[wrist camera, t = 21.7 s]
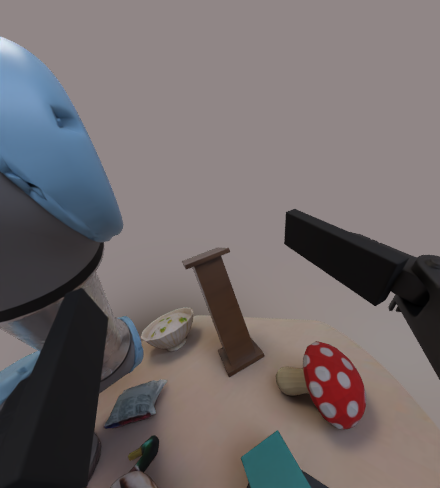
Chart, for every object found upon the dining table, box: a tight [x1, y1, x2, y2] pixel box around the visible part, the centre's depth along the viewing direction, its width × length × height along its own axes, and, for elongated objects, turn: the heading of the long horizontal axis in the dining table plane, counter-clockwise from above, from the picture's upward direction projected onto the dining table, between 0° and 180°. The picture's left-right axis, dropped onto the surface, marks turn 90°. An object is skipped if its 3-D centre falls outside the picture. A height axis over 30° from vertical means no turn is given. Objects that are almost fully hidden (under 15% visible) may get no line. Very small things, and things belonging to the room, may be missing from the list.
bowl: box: [141, 307, 193, 351], centre depth 64 cm, size 19×19×10 cm
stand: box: [182, 248, 264, 377], centre depth 47 cm, size 11×11×29 cm
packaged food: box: [103, 380, 167, 429], centre depth 42 cm, size 9×12×5 cm
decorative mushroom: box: [276, 341, 366, 429], centre depth 31 cm, size 11×11×15 cm
